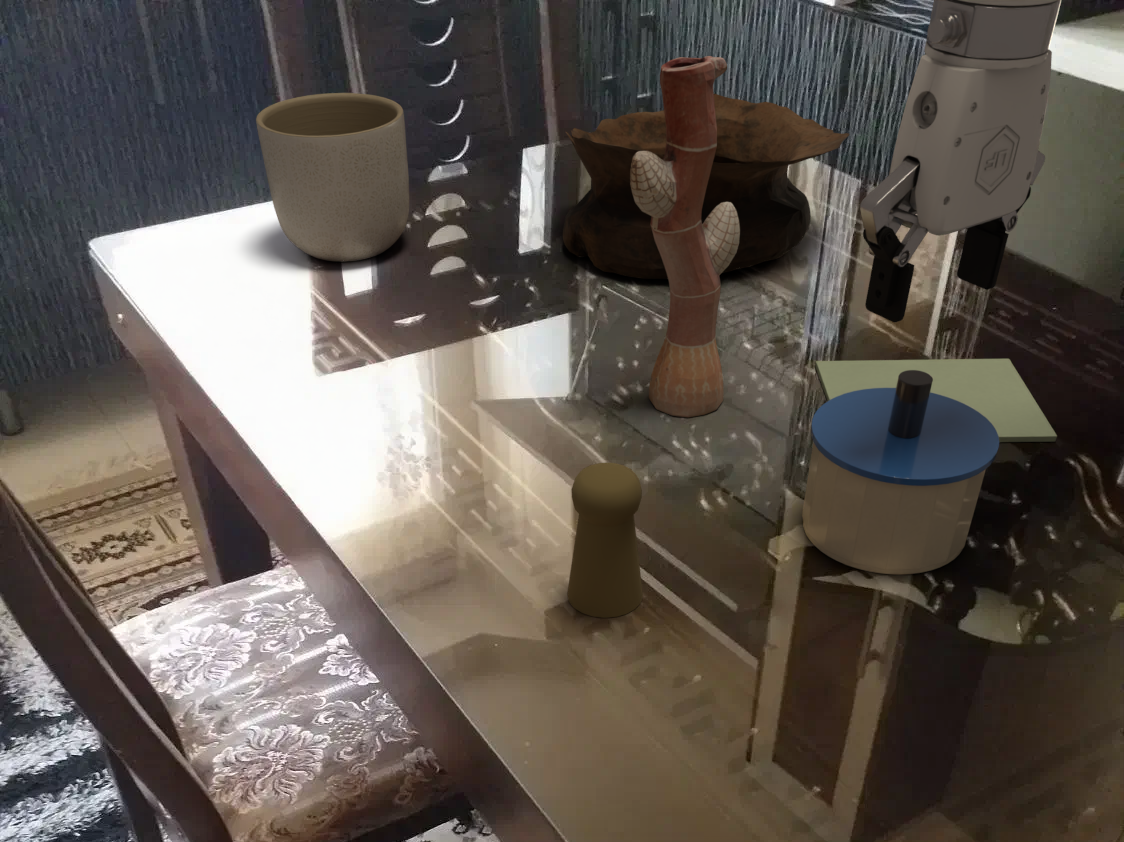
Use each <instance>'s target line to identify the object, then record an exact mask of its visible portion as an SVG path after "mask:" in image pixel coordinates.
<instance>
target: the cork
mask: <svg viewBox="0 0 1124 842" xmlns="http://www.w3.org/2000/svg"><path fill="white" fill-rule="evenodd" d="M642 497H643V489H642V485H641V481H640V479H639V477H638V475H637V474H636V473H635V472H634V470H632V468H629V466H628V467H627V466H626V465H624V464H619V463H616V462H608V461H607V462H598V463H593V464H590V465H587V466H586V467H584V468H582V469H581V470H580V471H579V472H578V473H577V475H576V476H575V478H574V481H573V483H572V487H571V500H572V503H573V507H574V511H576V513H577V514H578V516H577V517H578V518H577V523H576V531H575V536H574V537H575V539H574V546H573V552H572V557H571V565H570V572H569V579H568V585H567V591H566V592H567V593H566V595H567V596H566V597H567V600H568V603H569V604H570V605H571V606H572V607H573V609H575V610H577V611H578V612H580V613H581V614H584V615H586V616H589V617H594V618H602V619H606V618H607V619H608V618H609V619H610V618H617V617H622V616H625V615H628V614H630V613H631V612H633V611H635V610H636V609H637V608H638V607H639V605H640V604H641V603H642V602H643V601H642V600H643V597H644V591H643V583H642V574H641V566H640V557H639V548H638V539H637V530H636V521H635V514H636V513H637V512H638V510H639V507H640V505H641V501H642Z"/></svg>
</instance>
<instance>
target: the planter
mask: <svg viewBox="0 0 1124 842" xmlns="http://www.w3.org/2000/svg"><path fill="white" fill-rule="evenodd" d="M255 123H256V129H257V135H258V141H259V145H260V150H261V154H262V159H263V162H264V168H265V175H266V179H267V183H268V187H269V193H270V196H271V200H272V204H273V208H274V211H275V214H276V218H277V221H278V223H279V226H280V228H281V230H282V232H283V233H284V235H285V237H286V238H287V239H288V240H289V241H290V242H291V244H293V245H294V246H295V247H296V248H298V250H301V251H302V252H304V253H305V254H307V255H308V256H310V257H313V258H315V259H319V260H322V261H328V262H339V263H340V262H357V261H362V260H367V259H370V258H373V257H376V256H378V255H381V254H382V253H384V252H385V251H387V250H388V249H390V248H391V247H392V246H393V245H394V244H395V243H396V242H397V241H398V240H399V239H400V237H401V236H402V234H403V233H404V230H405V228H406V226H407V224H408V220H409V213H410V211H409V210H410V180H409V179H410V178H409V163H408V150H407V137H406V136H407V135H406V124H405V113H404V109H403V107H402V106H401V104H399V103H397V102H396V101H395V100H392V99H389V98H387V97H383V96H379V95H374V94H367V93H356V92H329V93H315V94H308V95H303V96H297V97H293V98H288V99H285V100H281V101H278V102H276V103H273V104H270V105H268V106H267V107H265V108H263V109H262V110H261V111H260V112H258V114H257V115H256V117H255Z"/></svg>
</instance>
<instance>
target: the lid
mask: <svg viewBox="0 0 1124 842" xmlns="http://www.w3.org/2000/svg"><path fill="white" fill-rule="evenodd" d="M932 382H933V378H932V376H931V375H930V374H928V373H926V372H923V371H918V370H907V371H904V372H901V373H900V374H899V376H898V381H897V386H896V388H871V389H863V390H857V391H853V392H849V393H845V394H842V395H840V396H837V397H835V398H833V399H831V400H829V401H827V400H826V401H825V403H823V404H821V405H820V407H818V409H817V410H816V411H815V413H814V414H813V416H812V419H811V424H810V436H811V437H810V438H811V440H812V442H814V444H815V446H816V447H817V449H818V450H819V451H820V452H821V453H822V454H823V455H824V456H825V457H826V458H828V459H829V460H830V461H831V462H833V463H835V464H836V465H838V466H840V467H841V468H843V469H845V470H848V471H850V472H852V473H855V474H857V475H860V476H863V477H866V478H869V479H873V480H877V481H881V482H886V483H892V484H899V485H911V486H931V485H942V484H949V483H954V482H959V481H962V480H965V479H968V478H971V477H973V476H975V475H978V474H979V473H981V472H982V471H984V470H985V469H986V470H987V469H988V468H989V467H990V466H991V465H992V463H994V461H995V460H996V457H997V455H998V452H999V448H1000V442H999V436H998V434H997V431H996V429H995V428H994V426H993V425H992V423H991V422H990V421H989V420H988V419H987V418H986V417H984V416H983V415H982V414H981V413H979V412H978V411H976V410H975V409H973V408H971V407H970V406H968V405H966V404H964V403H961V402H959V401H957V400H954V399H952V398H949V397H946V396H943V395H939V394H935V393H931V392H930V391H931V387H932Z"/></svg>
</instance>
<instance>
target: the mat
mask: <svg viewBox="0 0 1124 842" xmlns="http://www.w3.org/2000/svg"><path fill="white" fill-rule="evenodd" d="M814 367H815V371H816V372H817V376H818V378H819V381H820V384H821V387H822V390H823V392H824V393H823V394H824V396H825V398H826V402H827V401H829V400H831V399H833V398H835V397H837V396H840V395H842V394H845V393H849V392H853V391H857V390H863V389H871V388H896V386H897V381H898V376H899V374H900V373H901V372H904V371H907V370H918V371H923V372H926V373H928V374H930V375H931V376H932V378H933V382H932V387H931V391H930V392H931V393H935V394H939V395H943V396H946V397H949V398H952V399H954V400H957V401H959V402H961V403H964V404H966V405H968V406H970V407H971V408H973V409H975V410H976V411H978V412H979V413H981V414H982V415H983V416H984V417H986V418H987V419H988V420H989V421H990V422H991V423H992V425H993V426H994V428H995V429H996V431H997V434H998V436H999V443H1031V442H1032V443H1044V442H1045V443H1048V442H1051V443H1052V442H1055V443H1056V440H1057V438H1058V435H1057V433H1056V432H1055V430H1054V428H1053V427H1052V425H1051V424H1050V422H1049V421H1048V419H1047V417H1046V415H1045V414H1044V413H1043V410H1042V409H1041V407H1040V406H1039V404H1038V403H1037V402H1036V399H1035V398H1034V397H1033V395H1032V393H1031V391H1030V390H1029V388H1028V386H1027V385H1026V384H1025V382H1024V380H1023V378H1022V377H1021V375H1020V373H1018V370H1017V369H1016V367H1015V366H1014V364H1013V363H1012V361H1011V359H1010V358H952V359H949V358H946V359H943V358H942V359H941V358H939V359H886V360H885V359H874V360H873V359H870V360H865V359H863V360H816V361H815V366H814Z"/></svg>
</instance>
